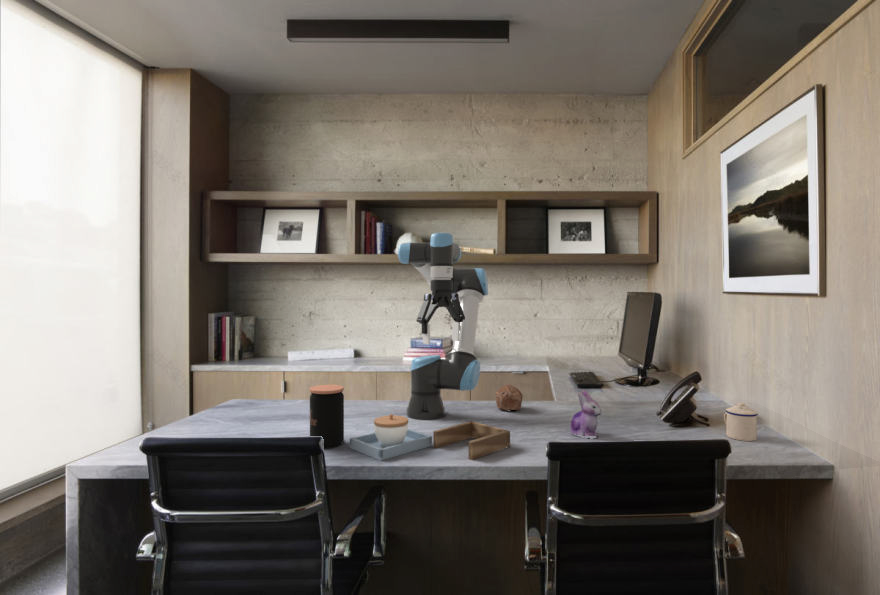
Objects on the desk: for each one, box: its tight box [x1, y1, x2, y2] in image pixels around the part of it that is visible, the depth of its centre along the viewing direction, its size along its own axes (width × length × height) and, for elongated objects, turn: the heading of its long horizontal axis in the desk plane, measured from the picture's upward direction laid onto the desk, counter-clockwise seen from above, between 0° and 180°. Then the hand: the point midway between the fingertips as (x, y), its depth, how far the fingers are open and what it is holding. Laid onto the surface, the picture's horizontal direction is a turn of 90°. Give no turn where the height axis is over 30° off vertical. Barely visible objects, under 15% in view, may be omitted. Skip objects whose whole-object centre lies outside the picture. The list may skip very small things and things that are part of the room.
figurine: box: [570, 389, 603, 436], centre depth 169 cm, size 9×10×15 cm
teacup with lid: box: [723, 401, 758, 442], centre depth 168 cm, size 12×9×12 cm
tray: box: [349, 428, 433, 461], centre depth 156 cm, size 16×20×3 cm
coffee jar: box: [309, 384, 345, 449], centre depth 159 cm, size 11×11×18 cm
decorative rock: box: [495, 383, 524, 411], centre depth 206 cm, size 13×11×10 cm
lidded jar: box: [373, 413, 409, 447], centre depth 156 cm, size 11×11×9 cm
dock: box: [432, 420, 511, 461], centre depth 156 cm, size 16×18×5 cm
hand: (441, 342), depth 168 cm, fingers open, 13 cm apart
